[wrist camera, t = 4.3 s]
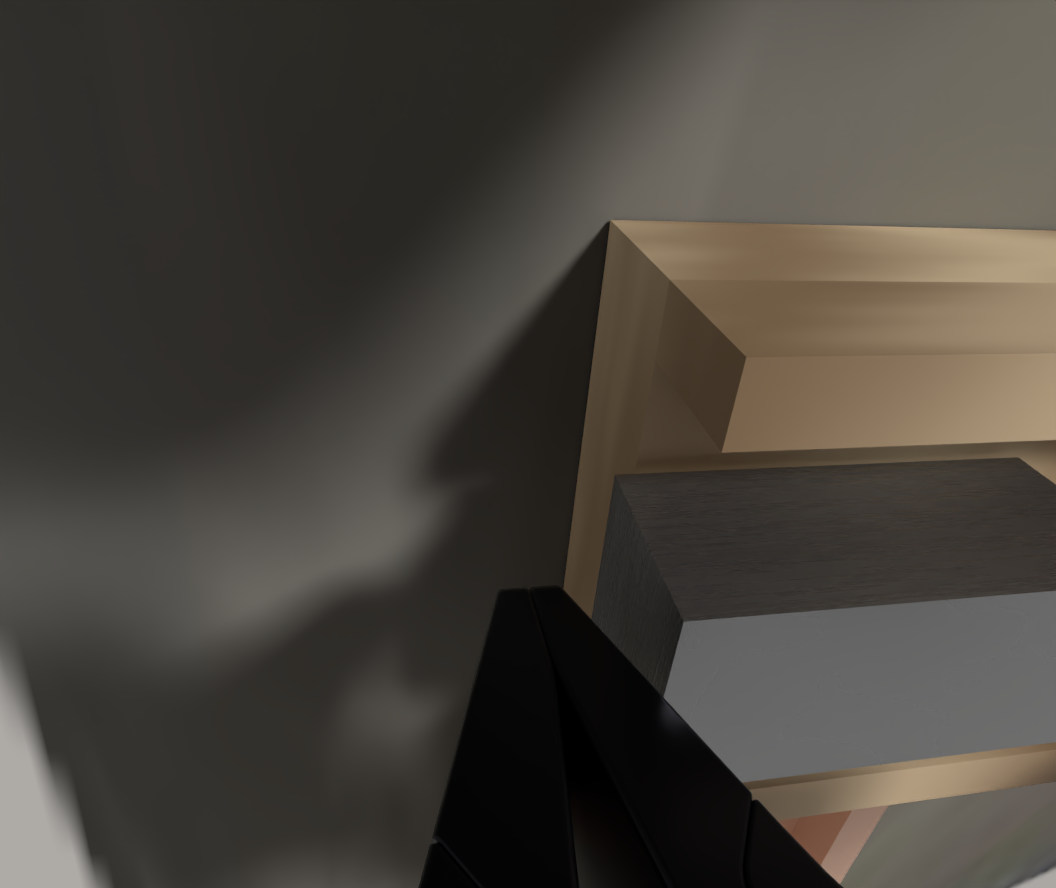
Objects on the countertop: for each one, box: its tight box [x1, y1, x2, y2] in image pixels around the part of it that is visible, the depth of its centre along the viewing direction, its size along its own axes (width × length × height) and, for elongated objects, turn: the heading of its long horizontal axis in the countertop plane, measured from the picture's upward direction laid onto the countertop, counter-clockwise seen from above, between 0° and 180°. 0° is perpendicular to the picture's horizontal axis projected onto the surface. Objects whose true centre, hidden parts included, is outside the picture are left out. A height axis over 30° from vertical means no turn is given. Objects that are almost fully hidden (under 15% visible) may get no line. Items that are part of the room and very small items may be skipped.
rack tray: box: [778, 805, 888, 884], centre depth 18 cm, size 9×9×2 cm
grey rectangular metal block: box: [591, 457, 1056, 782], centre depth 9 cm, size 6×3×2 cm, turn 86°
